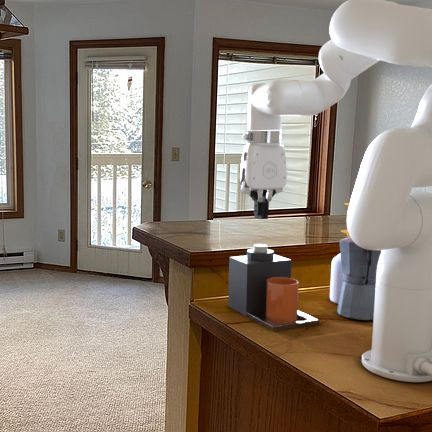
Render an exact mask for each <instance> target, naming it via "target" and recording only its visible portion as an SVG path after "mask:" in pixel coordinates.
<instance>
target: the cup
mask: <svg viewBox="0 0 432 432" xmlns="http://www.w3.org/2000/svg"><path fill="white" fill-rule="evenodd" d="M299 286H300V282H299V280H297V279H295V278H292V277H291V278H287V277H272V278H268V279H267V285H266V314H265V318H267V319H269V320H271V321H273V322H275V323H277V324H284V323H290V322H297V321H298V318H297V314H298V310H299V288H300V287H299Z"/></svg>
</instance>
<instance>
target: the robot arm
mask: <svg viewBox="0 0 432 432" xmlns="http://www.w3.org/2000/svg"><path fill="white" fill-rule="evenodd" d="M328 31H329V36H330V39H329V40H328V41H327V42H326V43H324V44H323V45H322V46H321V47H320V48H319V52H318V63H319V65H320V68H321V71H322V74H320V75H319V76H317V77H316V78H314V79H313V80H303V79H284V78H283V79H280V78H279V79H274V80H271V81H267V82H260V83H254V84H251V85H250V87H249V88H248V95H247V96H248V98H247V99H248V100H247V127H246V128H247V130H246V133H243V134H242V139H243V140H244V141H246V144H245V145H244V147H243V150H242V156H241V162H240V170H239V171H240V172H239V184H240V186H241V188H240V193H241V194H244V195H248V196H249V197H250V198H251V200H252V201H253V215H254V218H255V219H258V220H268V218H269V212H270V202H271V201H272V200H273V198H274V196H275V195H276V194H277V195H278V194H280V193H283V191H284V188H285V187H286V185H287V157H286V151H285V146H284V145H283V144H281V143H282V141H281V139H282V117H291V116H292V117H293V116H294V117H312V116H315V115H319V114H320V113H322V112H324V111H326V110H327V109H329V108H331V107H332V106H334V105H335V104H337V103H338V102H339V101H340V100H342V99H343V98H344V96H345V95H346V93H347V91H348V90H349V88H350V86H351V81H352V80H353V79H355V78H356V77H358V76H359V75H361V74H362V73H363V72H365V71H367V70H368V69H369V68H371V67H372V66H374V65H375V64H377V63H379V62H380V61H381V62H384V63H385V62H386V63H389V64H392V65H393V64H394V65H398V66H405V67H417V68H420V67H421V68H432V8H427V7H422V6H421V7H420V6H414V5H407V4H400V3H397V2H395V1H390V0H346V1H344V2H343V3H342V4H340V5H339V6H338V7H337V9H336V10H335V11H334V13H333V14H332V16H331V18H330V22H329V27H328ZM429 187H432V83H431V84H430V85H429V86H428V88H427V89H426V90H425V92H424V94H423V96H422V98H421V100H420V102H419V105H418V109H417V112H416V115H415V117H414V120H413V123H412V124H411V126H410V127H393V128H390V129H387V130H384V131H383V132H381V133H380V134H379V135H377V136H376V137H375V138H373V140H372V141H371V142H370V144H369V145H368V147H367V149H366V151H365V153H364V156H363V159H362V162H361V163H360V168H359V171H358V174H357V178H356V180H355V184H354V188H353V191H352V194H351V197H350V200H349V203H348V204H349V206H347V207H348V208H347V213H346V230H348V233H349V235H350V237H351V239H352V240H353V241H354V243H355V244H357V245H358V246H359V247H361V248H364V249H367V250H382V252H381V254H380V257H379V261H378V265H377V272H376V283H375V284H376V287H375V303H374V319H373V320H372V321H373V322H372V337H371V349H369V350H367V351H365V352H363V353H362V355H361V364H362V366H363V367H364V368H365V369H367V370H368V371H369V372H371V373H373V374H375V375H377V376H380V377H383V378H386V379H389V380H394V381H399V382H405V383H426V382H427V383H428V382H431V381H432V192H429V191H426V190H422V189H415V188H429Z"/></svg>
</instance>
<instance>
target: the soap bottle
mask: <svg viewBox="0 0 432 432" xmlns="http://www.w3.org/2000/svg"><path fill="white" fill-rule="evenodd" d="M349 204H350V203H348V202H344V205H345V206H347V207H349ZM340 233H343V234H346V237H347V238H349V237H350V235H349V233H348V229H341V230H340ZM330 266H331V268H330V284H329V285H330V286H329V299H330V302H333V303H335V304H337V305H338V304H339V299H340V294H341V290H342V284H343V282H344V280H343V272H342V266H341V252H340V253H338V254H337V255H335V256H334V257H333V258H332V260H331V265H330Z"/></svg>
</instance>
